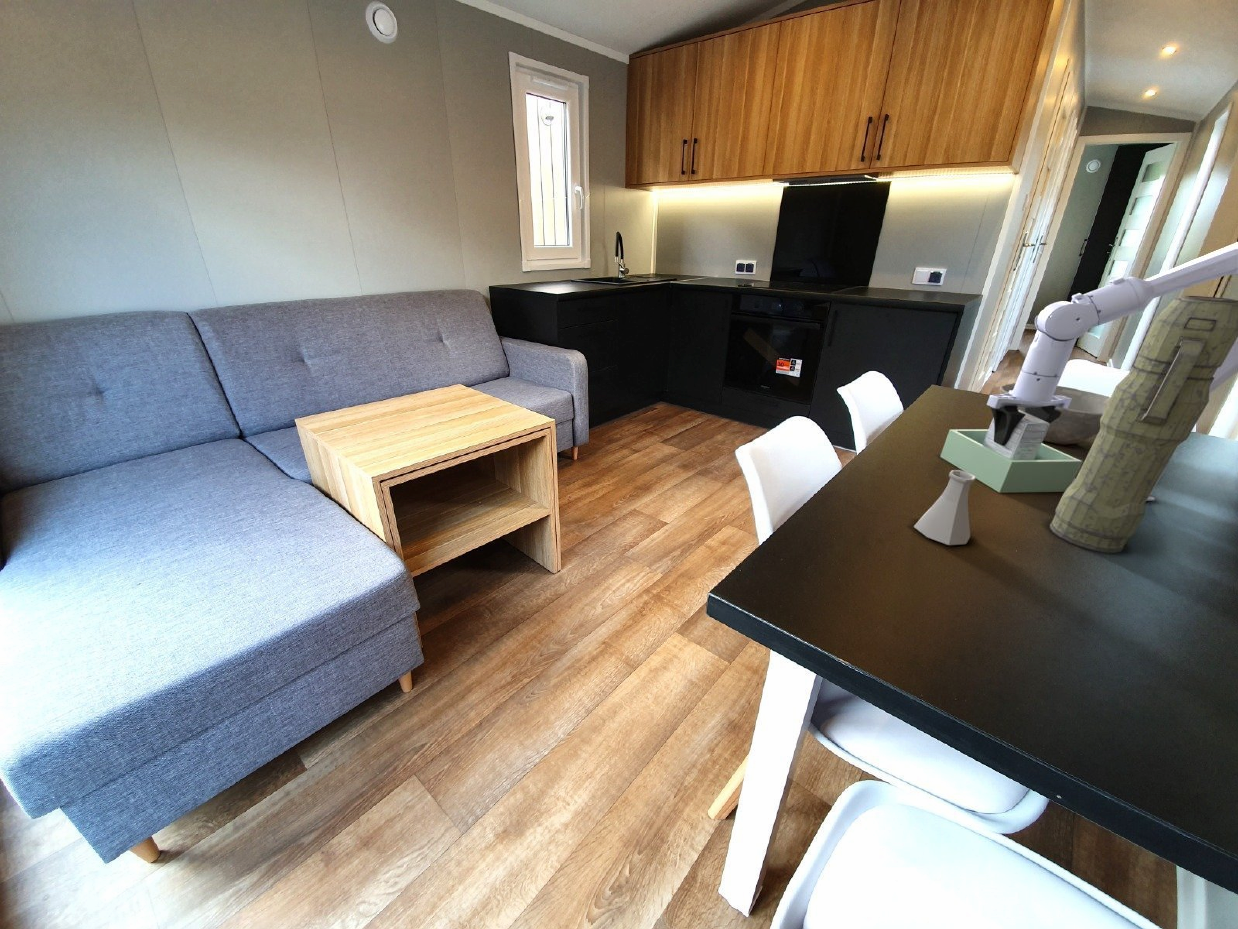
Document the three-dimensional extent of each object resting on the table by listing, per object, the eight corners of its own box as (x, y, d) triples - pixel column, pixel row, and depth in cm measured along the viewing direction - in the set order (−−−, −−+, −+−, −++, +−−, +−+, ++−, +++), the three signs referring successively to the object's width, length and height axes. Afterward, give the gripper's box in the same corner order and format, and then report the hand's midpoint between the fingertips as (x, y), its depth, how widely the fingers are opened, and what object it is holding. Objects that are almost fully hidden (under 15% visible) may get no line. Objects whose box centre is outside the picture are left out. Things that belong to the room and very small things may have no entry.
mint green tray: (1000, 456, 103) (1010, 429, 100) (1068, 491, 89) (1082, 461, 86) (940, 456, 102) (949, 429, 99) (999, 492, 88) (1012, 462, 85)
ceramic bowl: (987, 414, 128) (1001, 377, 124) (1103, 435, 116) (1123, 395, 112) (984, 439, 112) (1000, 397, 107) (1119, 466, 100) (1143, 420, 96)
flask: (950, 551, 70) (974, 490, 66) (904, 526, 76) (923, 468, 72) (979, 539, 73) (1004, 480, 69) (932, 516, 79) (952, 460, 75)
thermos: (1051, 543, 73) (1173, 298, 58) (1046, 511, 82) (1151, 291, 67) (1131, 566, 68) (1286, 306, 53) (1117, 530, 77) (1246, 297, 62)
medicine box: (1031, 467, 90) (1052, 423, 87) (1008, 466, 90) (1027, 422, 87) (1001, 449, 98) (1019, 408, 94) (979, 448, 97) (996, 407, 94)
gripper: (1057, 367, 91) (1029, 435, 97) (985, 366, 90) (961, 435, 95) (1094, 377, 85) (1061, 449, 91) (1017, 377, 83) (989, 450, 89)
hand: (1011, 443), depth 93 cm, fingers closed on medicine box, 4 cm apart
